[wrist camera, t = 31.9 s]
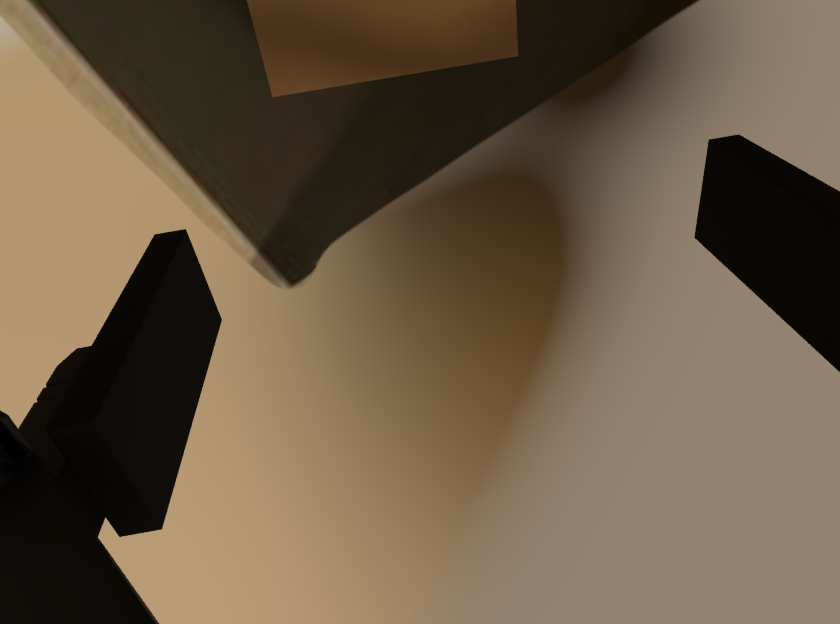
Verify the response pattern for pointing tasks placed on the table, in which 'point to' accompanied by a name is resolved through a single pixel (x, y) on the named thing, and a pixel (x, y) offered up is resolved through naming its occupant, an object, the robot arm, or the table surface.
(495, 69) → the table surface
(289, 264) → the table surface
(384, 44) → the chest lid
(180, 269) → the robot arm
